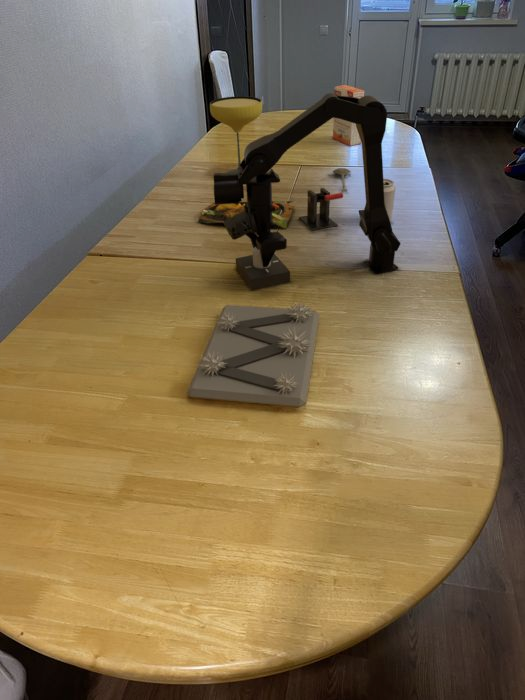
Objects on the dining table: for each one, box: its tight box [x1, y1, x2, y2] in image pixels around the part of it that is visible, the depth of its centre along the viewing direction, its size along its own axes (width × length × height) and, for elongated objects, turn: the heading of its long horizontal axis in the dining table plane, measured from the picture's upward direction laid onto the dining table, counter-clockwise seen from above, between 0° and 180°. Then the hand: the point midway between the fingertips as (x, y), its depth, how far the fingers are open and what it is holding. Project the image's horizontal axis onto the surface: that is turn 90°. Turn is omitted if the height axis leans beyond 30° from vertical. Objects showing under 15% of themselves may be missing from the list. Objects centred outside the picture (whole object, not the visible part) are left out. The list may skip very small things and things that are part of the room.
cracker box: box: [332, 84, 365, 147], centre depth 216 cm, size 14×6×21 cm, turn 25°
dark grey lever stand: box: [298, 187, 339, 232], centre depth 151 cm, size 10×8×10 cm
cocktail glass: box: [209, 95, 263, 173], centre depth 185 cm, size 18×18×25 cm
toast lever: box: [316, 192, 344, 203], centre depth 145 cm, size 12×5×2 cm, turn 20°
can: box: [383, 178, 396, 222], centre depth 150 cm, size 8×8×12 cm
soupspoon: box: [332, 167, 352, 193], centre depth 181 cm, size 22×3×7 cm
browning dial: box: [252, 247, 271, 269], centre depth 127 cm, size 4×4×4 cm
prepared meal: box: [198, 200, 297, 230], centre depth 159 cm, size 28×4×18 cm
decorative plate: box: [186, 300, 320, 408], centre depth 101 cm, size 30×22×7 cm
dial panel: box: [235, 253, 291, 291], centre depth 129 cm, size 12×10×3 cm
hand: (262, 262), depth 128 cm, fingers closed on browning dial, 4 cm apart
